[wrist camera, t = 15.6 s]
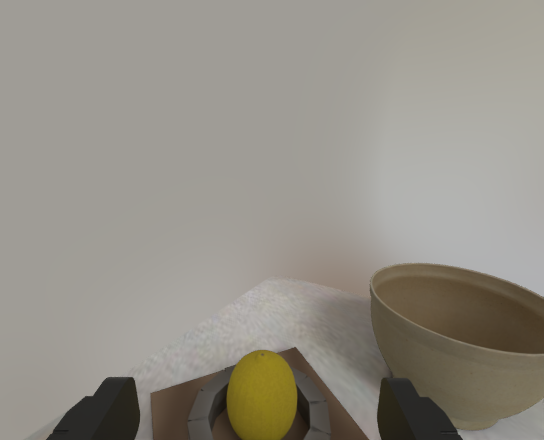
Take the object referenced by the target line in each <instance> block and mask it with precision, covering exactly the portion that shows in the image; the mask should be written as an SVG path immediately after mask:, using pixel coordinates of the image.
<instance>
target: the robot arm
mask: <svg viewBox="0 0 544 440" xmlns="http://www.w3.org/2000/svg"><path fill="white" fill-rule="evenodd" d="M139 422H140V410H139V404H138V397H137V391H136V385H135V380H134V378H133V377H108V378H106V379H105V380H104V381H103V382H102V384H101V385H100V387H99V388H98V389H97V391H96V392H95V394H94V395H93V396H85V398H83V399H82V400H81V401H80V402H78V403H77V404H76V405H75V406H74V407H72V408H71V409H70V410H69V411H68V412H67V413H66V414H65V416H64V417H63V418H62V419H61V421H60V422H59V423H58V425H57V426H56V427H55V429H54V430H53V433H52V434H50V435H49V437H48V438H47V439H46V440H134V439H135V437H136V434H137V431H138V427H139ZM377 422H378V428H379V433H380V436H381V439H382V440H463V439H462V438H461V436H460V435H458V433H457V430H456V428H455V427H454V425H453V424H452V422H451V421H450V419H449V417H448V416H447V414H446V413H445V412H444V411H443V410H442V409H441V408H440V407H439V406H438V405H437V404H436V403H435V402H434V401H432V400H431V399H430V398H429V397H420V396H419V395H418V393H417V391H416V389H415V388H414V386H413V384H412V383H411V381H410V380H409V379H408V378H383V379H382V381H381V388H380V396H379V404H378V412H377Z"/></svg>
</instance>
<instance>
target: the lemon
mask: <svg viewBox="0 0 544 440" xmlns="http://www.w3.org/2000/svg"><path fill="white" fill-rule="evenodd" d="M296 408H297V388H296V383H295V379H294V375H293V372H292V370H291V368H290V367H289V365H288V363H287V362H286V361H285V360H284V359H283V358H282V357H281V356H280V355H278V354H276V353H274V352H272V351H268V350H258V351H254V352H251V353H249V354H247V355H246V356H244V357H243V358H242V359H241V360H240V361H239V362H238V363H237V365H236V366H235V368H234V370H233V372H232V374H231V377H230V380H229V385H228V390H227V411H228V416H229V420H230V422H231V425H232V427H233V429H234V431H235V432H236V434H237V435H238V436H239V438H241V439H242V440H281V439H282V438H283V437H284V436H285V435H286V433H287V432H288V431H289V429H290V428H291V425H292V423H293V420H294V418H295V414H296Z"/></svg>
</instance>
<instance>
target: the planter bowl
mask: <svg viewBox="0 0 544 440" xmlns="http://www.w3.org/2000/svg"><path fill="white" fill-rule="evenodd" d="M370 294H371V318H372V325H373V330H374V334H375V337H376V341H377V343H378V346H379V349H380V351H381V353H382V356H383V358H384V360H385V361H386V363H387V365H388V367H389V368H390V370H391V371H392V373H393V378H408V379H409V380H410V381H411V383H412V384H413V386H414V388H415V389H416V391H417V393H418V395H419V396H420V397H429V398H430V399H431V400H432V401H434V402H435V403H436V404H437V405H438V406H439V407H440V408H441V409H442V410H443V411H444V412H445V413H446V414H447V416H448V417H449V419H450V421H451V422H452V424H453V425H454V427H455V428H458V429H464V430H482V429H486V428H489V427H491V426H492V425H494V424H495V423H496V422H497V421H498V419H502V418H506V417H509V416H512V415H515V414H518V413H520V412H522V411H524V410H526V409H528V408H529V407H531V406H533V405H534V404H536V403H537V402H538V401H540V400H541V399H542V398H543V397H544V297H542V296H540V295H539V294H537V293H534V292H532V291H531V290H528V289H526V288H524V287H522V286H519V285H517V284H515V283H512V282H509V281H506V280H504V279H500V278H497V277H495V276H491V275H488V274H484V273H480V272H477V271H473V270H468V269H464V268H459V267H453V266H448V265H440V264H429V263H405V264H397V265H392V266H388V267H384V268H382V269H380V270H378V271H376V272H375V273H374V275H373V276H372V277H371V280H370Z"/></svg>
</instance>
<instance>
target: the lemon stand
mask: <svg viewBox="0 0 544 440" xmlns="http://www.w3.org/2000/svg"><path fill="white" fill-rule="evenodd" d="M276 354H278V355H280V356H281V357H282V358H283V359H284V360H285V361H286V362H287V363H288V365H289V367H290V368H291V370H292V372H293V375H294V379H295V383H296V388H297V408H296V414H295V418H294V420H293V423H292V425H291V428H290V429H289V431H288V432H287V433H286V435H285V436H284V437H283V438H282V439H281V440H369V439H368V438H367V436H366V435H365V434H364V433H363V431H362V430H361V429H360V428H359V426H358V425H357V424H356V422H355V421H354V420H353V419H352V417H351V416H350V415H349V414H348V412H347V411H346V410H345V409H344V407H343V406H342V405H341V404H340V402H339V401H338V400H337V399H336V397H335V396H334V395H333V393H332V392H331V391H330V390H329V388H328V387H327V386H326V385H325V383H324V382H323V381H322V380H321V378H320V377H319V376H318V375H317V373H316V372H315V371H314V370H313V368H312V367H311V366H310V365H309V363H308V362H307V361H306V359H305V358H304V357H303V356H302V354H301V353H300V352H299V351H298V349H297V348H296V347H294V348H291V349H288V350H285V351H282V352H279V353H276ZM235 366H236V365H234V366H230V367H227V368H225V370H221V371H219V372H216V373H213V374H210V375H207V376H204V377H200V378H197V379H194V380H191V381H188V382H185V383H182V384H179V385H175V386H172V387H169V388H166V389H163V390H160V391H157V392H153V393H151V407H152V422H153V438H154V440H242V439H241V438H239V436H238V435H237V434H236V432H235V431H234V429H233V427H232V425H231V422H230V420H229V416H228V411H227V390H228V385H229V380H230V377H231V374H232V372H233V370H234V368H235Z"/></svg>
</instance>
